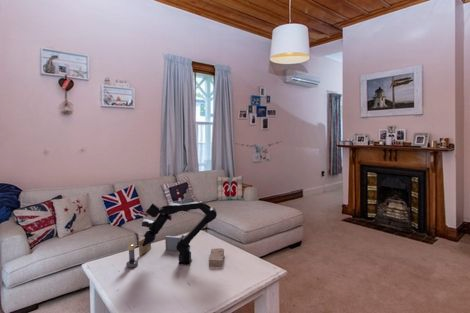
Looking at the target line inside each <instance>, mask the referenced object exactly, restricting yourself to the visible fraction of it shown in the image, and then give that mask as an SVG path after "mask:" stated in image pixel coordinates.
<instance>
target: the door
mask: <svg viewBox="0 0 470 313" xmlns="http://www.w3.org/2000/svg"><path fill="white" fill-rule="evenodd" d="M144 240H145V237H144V236H143V237H142V238H140V239H139V240H138V255H139V256H140V257H142V256H143V255H144V254H146V253H147V252H148V251H150V250H151V249H152V242H151V243H149V244H147V245H145V246H142V244H143V242H144Z"/></svg>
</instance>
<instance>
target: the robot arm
mask: <svg viewBox="0 0 470 313" xmlns="http://www.w3.org/2000/svg"><path fill="white" fill-rule="evenodd" d="M191 210H200V211H201V212H203V213H204V215H203V217H202V218H201V220H199V222H197V224H195V225H194V226H193V228H191V230H190V231H189V232H188V233H187V234H186V235H184V234H182V235H181V236H180V237H181V238H179V239H178V242H177V246H176V248H177V250H178V251H177V252H179V254H178V264H180V265H190V264H191V262H192V261H193V259H192V251H191V245H190V243H191V242H192V240H193V239H194V238H196V236H197V235H198V234H199V233H200V232H201V231H202V230H203V229H204V227H206V225H208V224H209V223H211V222H212V221H214V220H215V219H216V218H217V216H218V214H217V209H216V208H215V207H211V206H209V205H208V204H206V203H205V202H204V201H202V200H199V201H194V202H183V203H176V202H168V203H166V204H165V205H163V206H160V207H159V206H158V205H156V204H155V203H152V204H150V206H149V207H148V208H147V209H146V211H145V214H146V215H148V216H150V217H151V218H155V219H154V220H151V219H148V218H143V220H142V223H141V227H144V228H148V230H147V231H146V232H145V233H144V235H143V237H145V240H144V242H143V244H142V246H145V245H147V244H149V243H151V244H152V243H153V242H154V241H155V240H156V238H157V235H158V234H159V232H160V231H161V230H162V229H163V227H164V225H165V224H166V223H167V221H172V219H173V218H172V215H175V214H176V213H179V212H183V211H191Z"/></svg>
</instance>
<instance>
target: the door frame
mask: <svg viewBox="0 0 470 313" xmlns="http://www.w3.org/2000/svg"><path fill="white" fill-rule="evenodd" d="M179 238H181V236H175V235H173V236H172V235H165V238H164V239H165V242H164V243H165V251H177V252H179V251H178V250H177V248H176V246H177V242H178V239H179Z"/></svg>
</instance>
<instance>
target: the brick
mask: <svg viewBox="0 0 470 313" xmlns="http://www.w3.org/2000/svg"><path fill="white" fill-rule="evenodd" d="M224 256H225V248H224V247H223V248H221V247H220V248H217V247H216V248H211V249H210V254H209V257H208V267H210V268H212V267H214V268H222V267H223V262H224Z"/></svg>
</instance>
